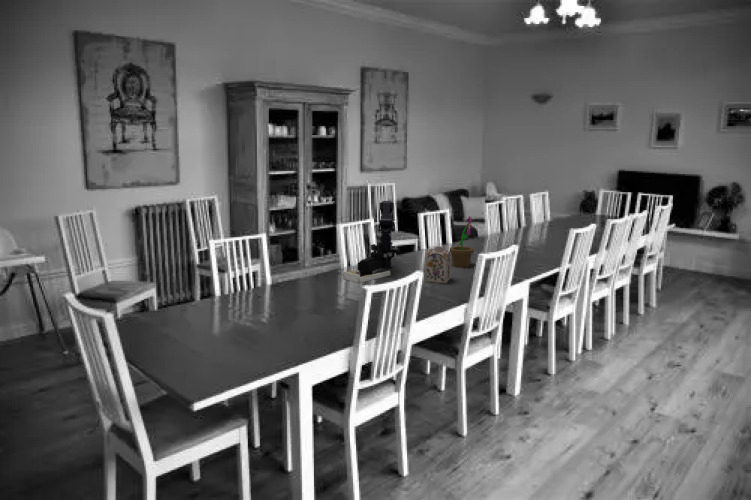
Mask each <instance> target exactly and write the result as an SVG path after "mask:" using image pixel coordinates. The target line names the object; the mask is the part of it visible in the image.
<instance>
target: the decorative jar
mask: <svg viewBox="0 0 751 500" xmlns="http://www.w3.org/2000/svg"><path fill="white" fill-rule="evenodd" d="M451 265H452V255H451V253H450V250H448V249H446V248H445V249H444V246H440V245H439V246H434V248H433V249H428V250H427V252H426V256H425V266H424V267H425V268H424V282H426V283H436V284H447V283H448V281H449V280H450V279H451Z"/></svg>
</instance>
